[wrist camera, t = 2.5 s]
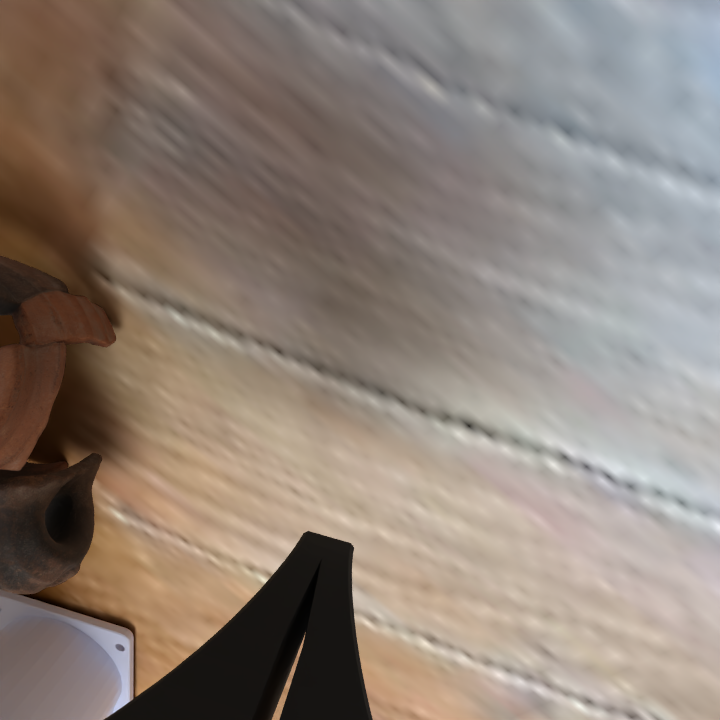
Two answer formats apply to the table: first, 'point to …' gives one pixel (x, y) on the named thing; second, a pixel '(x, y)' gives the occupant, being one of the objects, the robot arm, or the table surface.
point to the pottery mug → (25, 425)
